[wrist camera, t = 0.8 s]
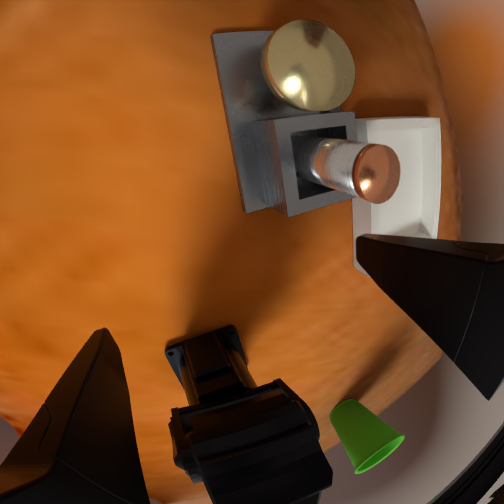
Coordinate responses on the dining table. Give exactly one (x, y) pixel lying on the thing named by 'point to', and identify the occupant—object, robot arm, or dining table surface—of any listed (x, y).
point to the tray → (403, 179)
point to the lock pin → (348, 166)
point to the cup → (363, 435)
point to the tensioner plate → (283, 108)
